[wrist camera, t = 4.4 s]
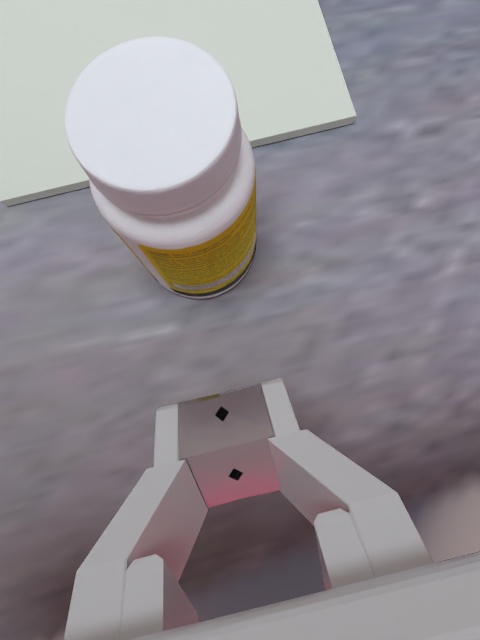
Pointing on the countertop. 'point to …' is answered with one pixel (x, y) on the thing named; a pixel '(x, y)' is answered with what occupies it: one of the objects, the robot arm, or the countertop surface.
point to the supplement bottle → (168, 161)
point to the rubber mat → (155, 21)
